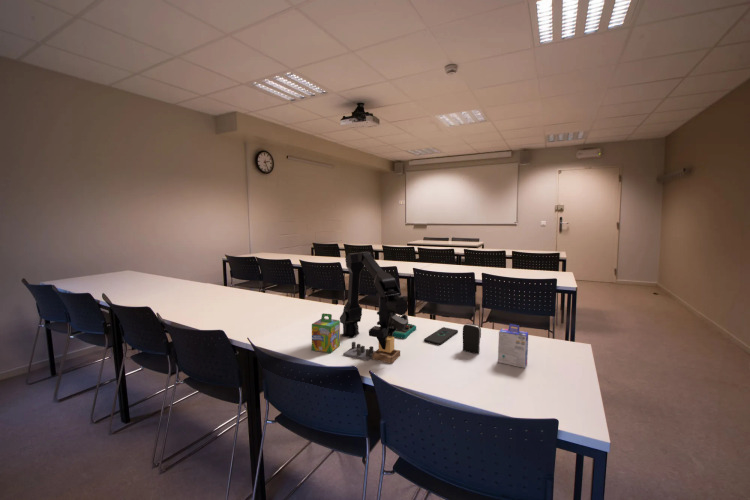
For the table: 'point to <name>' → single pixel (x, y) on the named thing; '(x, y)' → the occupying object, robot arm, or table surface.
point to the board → (359, 352)
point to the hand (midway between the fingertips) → (386, 347)
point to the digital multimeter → (404, 331)
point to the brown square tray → (386, 355)
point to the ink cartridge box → (513, 346)
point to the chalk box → (326, 334)
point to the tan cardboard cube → (388, 345)
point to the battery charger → (471, 338)
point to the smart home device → (441, 336)
